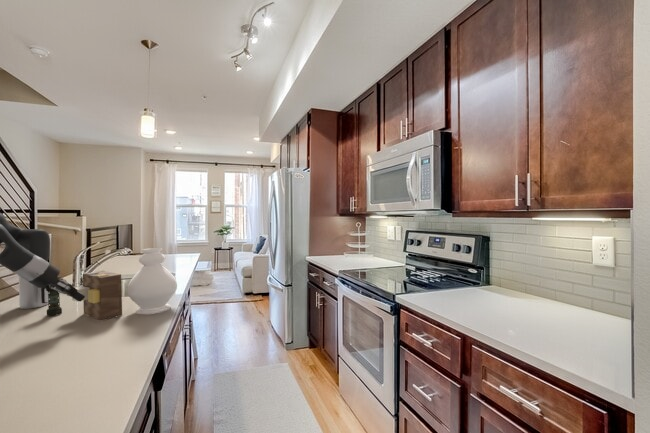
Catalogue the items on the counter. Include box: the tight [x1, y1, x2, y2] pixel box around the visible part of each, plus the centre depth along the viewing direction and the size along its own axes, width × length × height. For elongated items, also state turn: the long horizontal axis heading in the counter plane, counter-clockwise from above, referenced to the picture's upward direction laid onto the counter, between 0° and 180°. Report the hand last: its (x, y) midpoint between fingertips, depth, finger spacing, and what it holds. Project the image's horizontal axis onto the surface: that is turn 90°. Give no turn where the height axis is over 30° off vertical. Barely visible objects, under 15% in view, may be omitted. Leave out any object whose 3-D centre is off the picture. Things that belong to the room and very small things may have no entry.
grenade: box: [41, 277, 63, 317], centre depth 122 cm, size 6×6×15 cm
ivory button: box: [71, 286, 90, 303], centre depth 120 cm, size 4×6×4 cm
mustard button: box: [88, 289, 100, 303], centre depth 118 cm, size 4×6×4 cm
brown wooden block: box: [82, 270, 123, 322], centre depth 122 cm, size 15×7×16 cm, turn 58°
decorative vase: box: [127, 247, 178, 315], centre depth 128 cm, size 18×18×25 cm
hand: (82, 299), depth 113 cm, fingers closed
